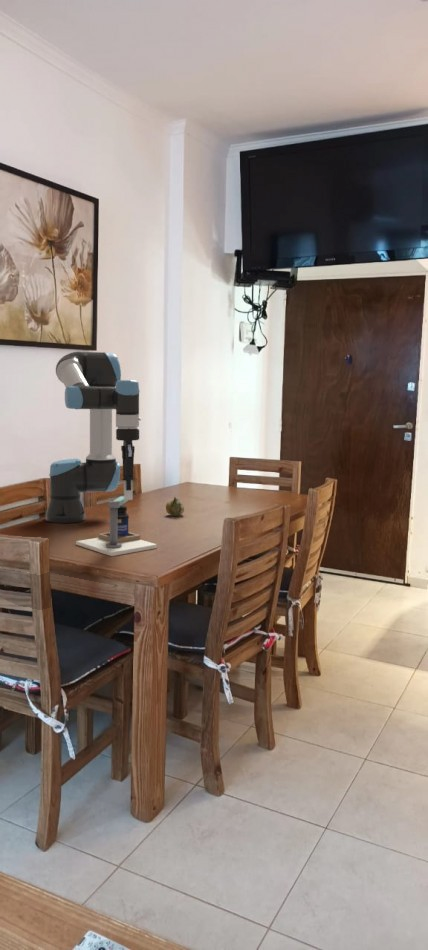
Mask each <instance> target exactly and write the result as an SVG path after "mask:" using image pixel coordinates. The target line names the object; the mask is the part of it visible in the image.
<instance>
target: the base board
mask: <svg viewBox="0 0 428 950" xmlns="http://www.w3.org/2000/svg"><path fill="white" fill-rule="evenodd" d="M117 533H118V508H109V532H104V533H98V536H97V537H95V538H87V539H82V540H76V542H75V543H76V545H77V546H78V547H79V546H80V547H82V548H85V549H88V550H91V551H95V552H98V553H99V554H100V553H101V554H103V555H107V556H109V557H115V556H120V555H126V554H127V555H128V554H131V553H137V552H143V551H147V550H148V551H149V550H154V549H157V548H158V544H157V543H154V542H150V541H146V540H143V539H141V534H137V533H133V532H130V531H128V536H127V537H121V538H117Z"/></svg>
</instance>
